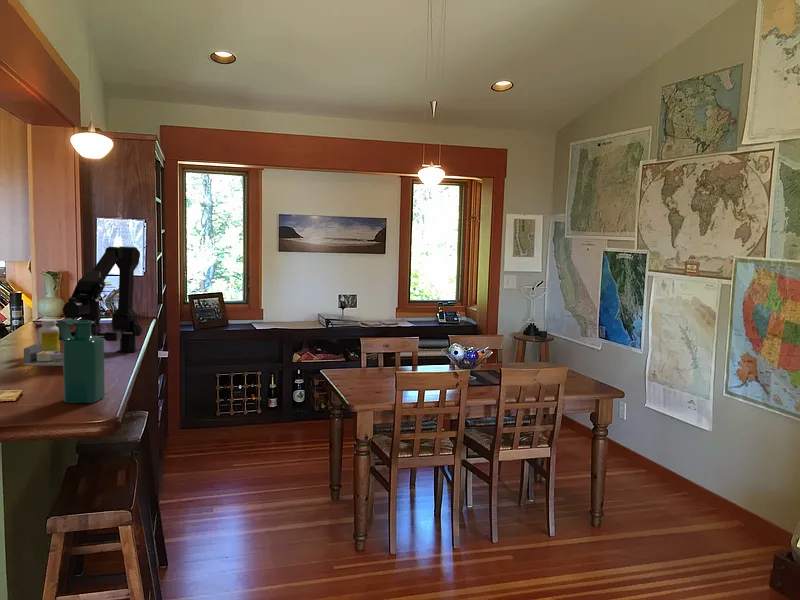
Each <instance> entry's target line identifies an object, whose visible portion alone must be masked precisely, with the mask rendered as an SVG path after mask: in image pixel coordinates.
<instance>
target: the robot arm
mask: <svg viewBox="0 0 800 600" xmlns="http://www.w3.org/2000/svg"><path fill="white" fill-rule="evenodd" d="M104 251H105V252H104V253H103V255H102V256H101V258H99V260H98V262H97V263H96V265H94V267H93V268H92V270H91V271H90V272H88V273H86V274H84V275H83V276H82V277H81V278H80V279H79V280H78V281H77V283H76V286H75V288H74V290H73V292H72V294H71V297H69V298H68V300H67V302H66V303H65V304H64V305H63V308H62V314H63V315H64V316H65V317H66V319H68V318H72V319H73V320H74V319H78V318H80V319H79V320H92V321H94V324H91V334H92V336H96V337H100V338H102V339H103V341H104V342H105V341H107V342H117V341H119V348H118V349H117V350H116V353H136V352H137V351H138V350H140V348H139V347H137V337H139V336H141V335H142V330H143V328H142V327H141V325H140V324H139V322H138V317H137V314H136V313H135V310H134V309H133V300H134V273H135V270H136V268H137V267H138V265H139V263H140V257H141V253H140V250H139V249H138V248H137V247H136V246H108V247H106V248H105V250H104ZM115 265H116V267H117V268H118V270H119V271H118V272H119V275H118V277H119V279H118V280H119V281H118V301H117V302H118V303H117V309H116V311H115V312H113V313H112V314H111V328H112V330H107V331H105V332H101V331H102V330H101V329H102V328H100V327H101V324H100V321H101V317H100V315H101V314H100V302H103V301H104V299H103V298H102V297H101V294H102V293H103V291H104V289H105V286H106V283H105V280H106V279H107V277H108V276H109V274H110V273H111V271H112V269H113V268H114V267H115ZM70 333H71V335H72V336H73V337H75V335H76V328H75V329H70ZM59 340H60V341H63V340H62V339H61V337H60V334H59Z"/></svg>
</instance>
